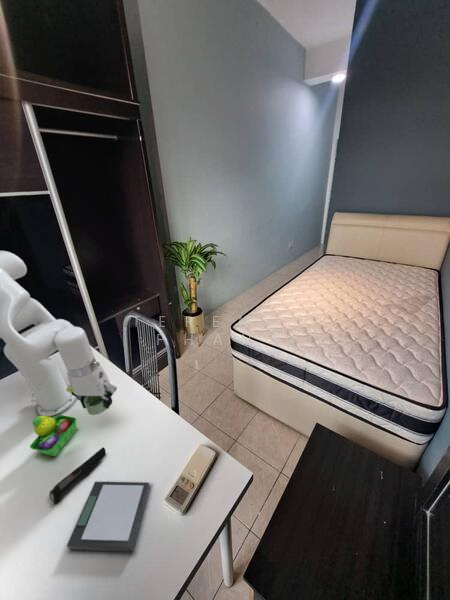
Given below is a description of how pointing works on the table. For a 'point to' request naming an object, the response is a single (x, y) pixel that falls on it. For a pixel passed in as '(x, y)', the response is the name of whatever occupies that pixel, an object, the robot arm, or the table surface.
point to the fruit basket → (52, 433)
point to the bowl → (94, 404)
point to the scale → (111, 517)
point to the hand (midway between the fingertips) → (98, 404)
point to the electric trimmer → (76, 475)
